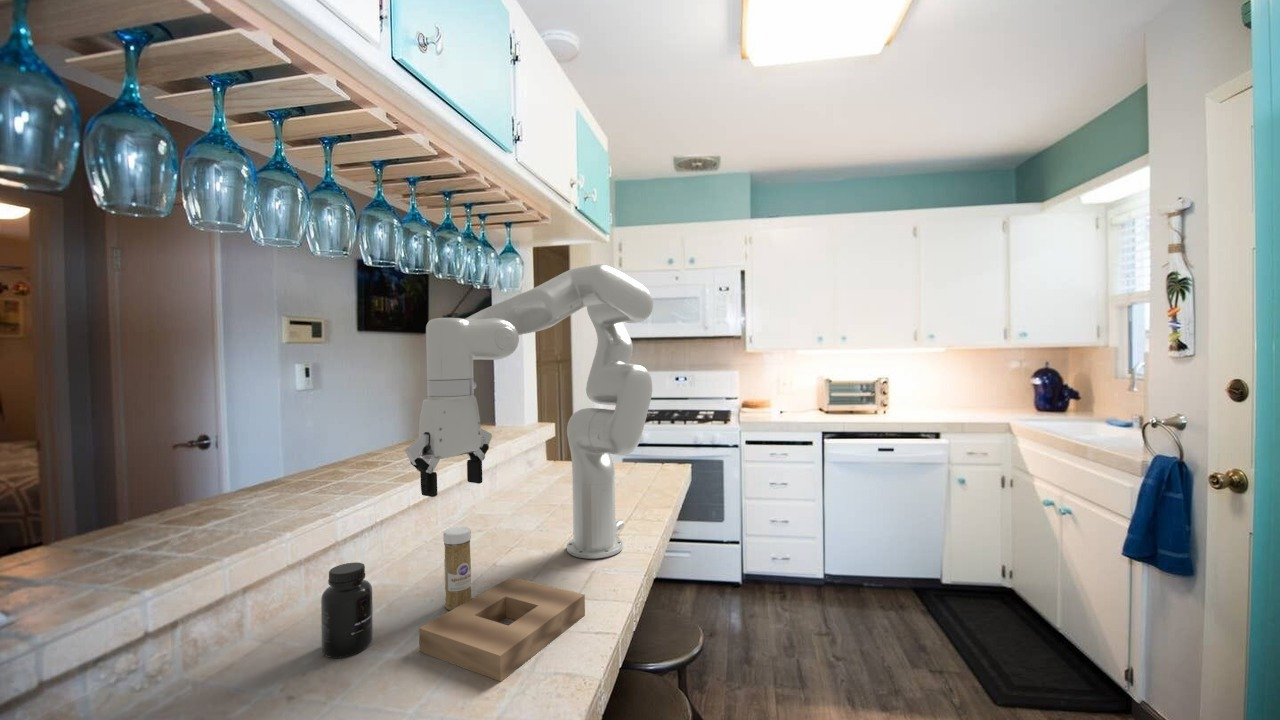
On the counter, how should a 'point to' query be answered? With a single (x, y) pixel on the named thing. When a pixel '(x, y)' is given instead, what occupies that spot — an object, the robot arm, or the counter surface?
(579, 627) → the counter surface
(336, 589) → the supplement bottle
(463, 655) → the spice holder
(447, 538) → the sprinkles bottle
